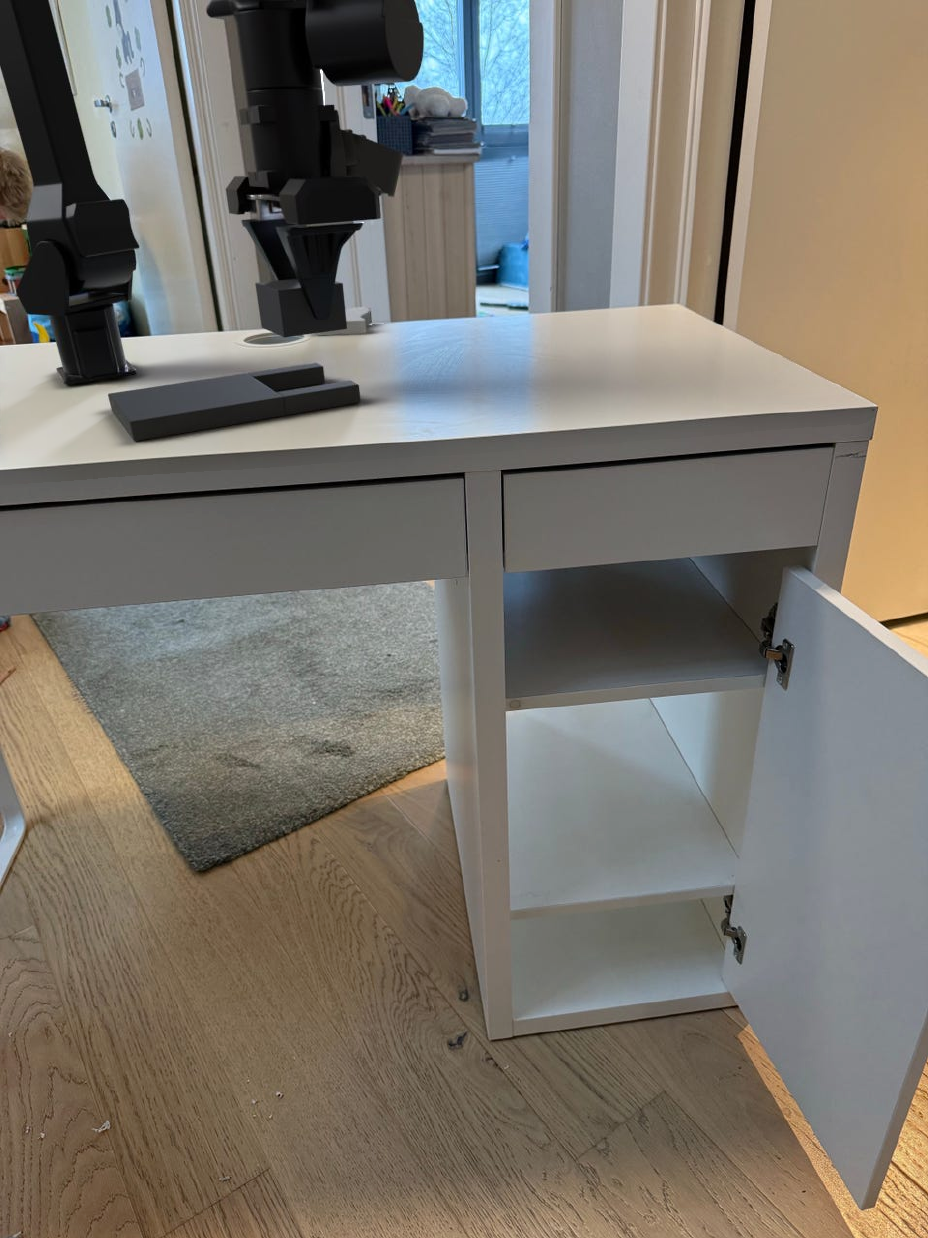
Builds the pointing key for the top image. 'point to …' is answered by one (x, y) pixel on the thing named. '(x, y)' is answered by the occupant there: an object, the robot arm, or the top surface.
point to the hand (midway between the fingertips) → (310, 314)
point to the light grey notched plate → (354, 321)
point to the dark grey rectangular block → (296, 309)
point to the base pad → (228, 401)
